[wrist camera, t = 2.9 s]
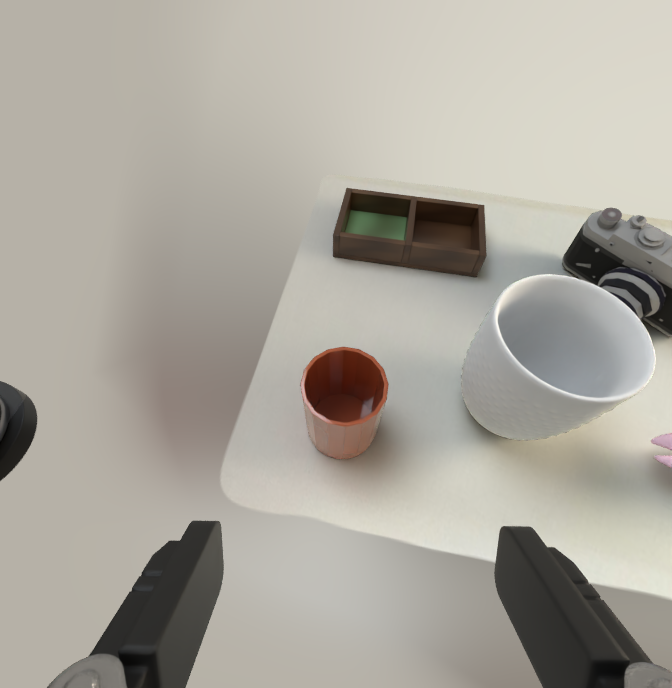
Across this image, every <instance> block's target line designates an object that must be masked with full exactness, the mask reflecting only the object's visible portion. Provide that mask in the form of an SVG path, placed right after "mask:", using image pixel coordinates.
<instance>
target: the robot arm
mask: <svg viewBox="0 0 672 688" xmlns="http://www.w3.org/2000/svg"><path fill="white" fill-rule="evenodd" d="M8 423H9V408H8V405H7V403H6V402H5V400H4V399H3V398H2V397H1V396H0V442H1V440H2V439H3V437H4V435H5V433H6V430H7V427H8ZM223 566H224V565H223V549H222V533H221V524H220V522H219V521H192V522H191V523H190V524H189V526H188V528H187V529H186V531H185V533H184V535H183V536H182V539H181V540H180V541H169V542H168V543H166V544H165V545H164V546H163V547H162V548H161V549H160V550H159V551H157V552H156V553H155V554H154V555H153V556H152V557H151V559H150V561H149V562H148V564H147V565H146V567H145V568H144V570H143V572H142V575H141V576H140V577H139V578H138V580H137V581H136V583H135V584H134V586H133V588H132V591H131V592H129V594H128V595H127V597H126V599H125V600H124V602H123V604H122V605H121V606H120V608H119V610H118V611H117V613H116V614H115V616H114V618H113V619H112V621H111V622H110V624H109V626H108V627H107V629H106V631H105V632H104V633H103V635H102V637H101V638H100V640H99V641H98V643H97V645H96V646H95V648H94V650H93V651H92V653H91V654H90V655H89V656H88V657H86V658H84V659H82V660H80V661H78V662H76V663H74V664H73V665H71V666H70V667H68V668H67V669H66V670H64V671H63V672H62V673H61V674H59V675H58V676H57V677H56V678H55V679H54V680H53V681H52V682H51V683H50V685H49V686H48V687H47V688H185V687H186V684H187V681H188V679H189V676H190V673H191V670H192V668H193V665H194V662H195V659H196V656H197V654H198V651H199V648H200V645H201V643H202V640H203V637H204V634H205V631H206V629H207V626H208V623H209V620H210V617H211V615H212V612H213V609H214V606H215V604H216V600H217V598H218V595H219V592H220V589H221V585H222V579H223V570H224V569H223V568H224V567H223ZM495 583H496V588H497V591H498V595H499V597H500V599H501V601H502V604H503V606H504V608H505V610H506V612H507V614H508V616H509V618H510V620H511V622H512V624H513V626H514V628H515V630H516V632H517V635H518V636H519V639H520V640H521V643H522V645H523V647H524V649H525V651H526V653H527V655H528V657H529V659H530V661H531V663H532V665H533V668H534V670H535V672H536V674H537V676H538V678H539V680H540V682H541V684H542V686H543V688H672V672H671V671H669V670H667V669H665V668H663V667H661V666H658V665H655V664H653V663H652V662H651V661H650V659H649V658H648V656H647V655H646V654H645V653H644V651H643V650H642V649H641V648H640V646H639V645H638V644H637V643H636V641H635V640H634V639H633V637H632V636H631V635H630V634H629V632H628V631H627V630H626V628H625V627H624V626H623V625H622V624H621V622H620V621H619V620H618V618H617V617H616V616H615V615H614V613H613V612H612V611H611V609H610V608H609V607H608V606H607V604H606V603H605V602H604V600H601V599H600V596H599V594H598V593H597V592H596V590H595V589H594V588H593V586H592V585H591V584H589V583H588V580H587V579H586V578H585V576H584V575H583V574H582V573H581V571H580V570H579V569H578V567H577V566H576V565H575V564H574V563H573V562H572V561H571V560H570V559H568V558H567V557H566V556H565V555H563V554H562V553H561V552H559V551H558V550H557V549H556V548H554V547H547V546H546V545H545V544H544V542H543V541H542V540H541V538H540V537H539V536H538V534H537V533H536V532H535V530H534V529H533V528H531V527H521V526H503V527H502V528H501V529H500V533H499V541H498V548H497V556H496V564H495Z"/></svg>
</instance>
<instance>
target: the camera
mask: <svg viewBox="0 0 672 688" xmlns="http://www.w3.org/2000/svg"><path fill="white" fill-rule="evenodd" d="M621 217H622V213H621V212H620V211H619V210H618V209H615V208H607V209H605V210H603V211H598V212H595V213H592V214H591V215H590V216H589V218H588V219H587V221H586V222H585V223H584V224H583V226H582V228H581V229H580V231H579V232H578V234H577V236H576V237H575V239H574V240H573V242H572V244H571V245H570V247H569V249H568V250H567V252H566V253H565V254H564V257H563V265H564V267H565V268H566V269H567V270H568V271H570V272H571V273H573V274H575V275H576V276H578V277H579V278H581V279H582V280H584V281H586V282H589V283H592V284H594V285H596V286H598V287H600V288H602V289H604V290H606V291H607V292H609V293H611V294H612V295H614V296H615V297H617V298H618V299H619V300H621V301H622V302H623V303H625V304H626V305H627V306H628V307H629V308H630V309H631V310H632V311H633V312H634V313H635V314H636V315H637V317H638V318H639V319H640V320H642V319H643V320H644V321H646V322H647V323H649V324H650V325H652V326H654V327H655V328H657V329H658V330H660V331H661V332H663V333H664V334H666V335H667V336H669V337H672V236H670V235H668V234H667V233H665V232H663V231H661V230H660V229H658V228H656V227H654V226H652V225H650V224H648V223H646V222H647V220H646V218H645V217H643V216H639V215H638V216H632V217H631V218H630V219H629V220H628V221H627V222H626V221H624V220H622V219H621Z"/></svg>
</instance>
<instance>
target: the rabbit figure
mask: <svg viewBox="0 0 672 688" xmlns="http://www.w3.org/2000/svg"><path fill="white" fill-rule="evenodd" d="M651 443H653V444H656V445H659V446H662V447H665V448H667V449H670V450H672V433H668V434H664V435H661V436H658V437H655V438H653V439H652V440H651ZM654 458H655V459H656V460H657V461H659V462H661V463H662V464H664V465H667V466H669V467H671V468H672V456H661V455H655V456H654Z"/></svg>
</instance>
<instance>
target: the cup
mask: <svg viewBox="0 0 672 688" xmlns="http://www.w3.org/2000/svg"><path fill="white" fill-rule="evenodd" d="M300 386H301V392H302V397H303V403H304V409H305V415H306V421H307V427H308V433H309V437H310V439H311V441H312V443H313V444H314V446H315V447H316V448H317V449H318V450H319V451H320V452H322V453H323V454H325V455H326V456H329V457H331V458H335V459H349V458H353V457H356V456H358V455H360V454H361V453H363V452H364V451H365V450H366V449H367V448H368V447H369V446H370V444H371V443H372V441H373V439H374V437H375V435H376V432H377V428H378V425H379V422H380V419H381V415H382V412H383V409H384V406H385V403H386V399H387V391H388V381H387V378H386V375H385V372H384V369H383V368H382V367H381V365H380V364H379V363H378V362H377V361H376V360H375V358H374V357H372V356H370V355H369V354H367V353H365V352H363V351H361V350H359V349H354V348H348V347H340V348H334V349H328V350H326V351H324V352H323V353H321V354H319V355H317V356H316V357H314V358H313V359H312V361H311V362H310V363H309V364H308V366H307V367H306V368H305V370H304V373H303V376H302V380H301V384H300Z"/></svg>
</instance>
